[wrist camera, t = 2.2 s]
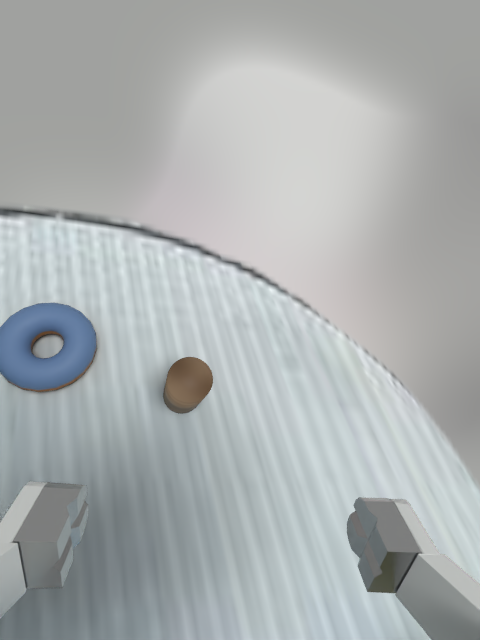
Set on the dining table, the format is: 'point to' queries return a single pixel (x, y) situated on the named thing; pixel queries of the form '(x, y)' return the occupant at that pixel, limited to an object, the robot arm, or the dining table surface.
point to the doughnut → (55, 372)
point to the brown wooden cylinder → (187, 384)
